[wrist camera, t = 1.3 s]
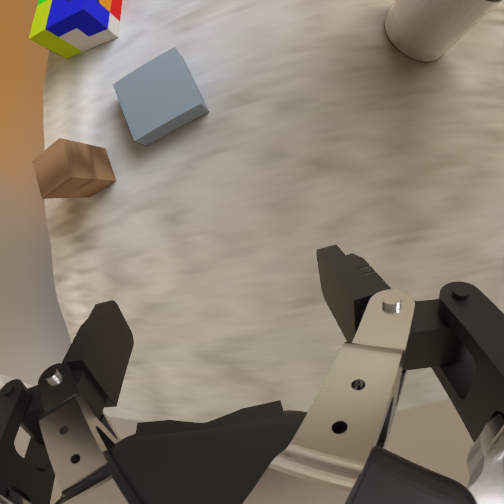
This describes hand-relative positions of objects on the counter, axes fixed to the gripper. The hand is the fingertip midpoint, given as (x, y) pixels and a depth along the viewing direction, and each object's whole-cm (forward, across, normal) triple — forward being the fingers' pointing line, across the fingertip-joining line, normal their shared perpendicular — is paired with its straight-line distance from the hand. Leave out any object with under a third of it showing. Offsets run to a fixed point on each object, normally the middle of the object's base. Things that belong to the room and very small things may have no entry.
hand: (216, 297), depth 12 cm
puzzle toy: (+39, +14, -29) cm, 51 cm away
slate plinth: (+32, +4, -11) cm, 34 cm away
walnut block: (+31, +16, -4) cm, 35 cm away
